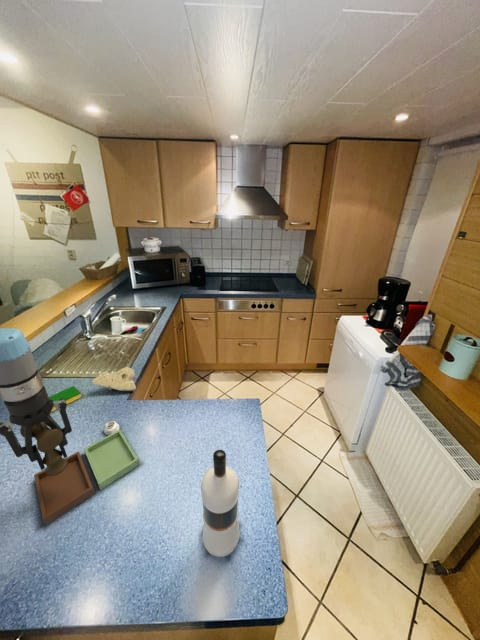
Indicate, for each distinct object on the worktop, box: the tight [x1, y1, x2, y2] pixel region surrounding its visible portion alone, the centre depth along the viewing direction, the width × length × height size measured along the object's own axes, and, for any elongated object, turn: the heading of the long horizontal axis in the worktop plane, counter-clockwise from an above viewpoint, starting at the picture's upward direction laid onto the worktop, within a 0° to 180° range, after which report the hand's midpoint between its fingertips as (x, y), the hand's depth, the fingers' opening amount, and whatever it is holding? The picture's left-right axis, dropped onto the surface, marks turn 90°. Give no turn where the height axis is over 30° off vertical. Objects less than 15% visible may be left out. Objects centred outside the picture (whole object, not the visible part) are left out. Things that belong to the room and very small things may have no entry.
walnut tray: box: [33, 451, 96, 526], centre depth 72 cm, size 16×12×3 cm
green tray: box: [83, 429, 141, 491], centre depth 81 cm, size 16×12×3 cm
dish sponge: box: [48, 385, 82, 413], centre depth 103 cm, size 7×14×2 cm, turn 141°
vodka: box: [200, 449, 241, 558], centre depth 57 cm, size 9×9×30 cm
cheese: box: [91, 366, 137, 392], centre depth 111 cm, size 15×7×15 cm
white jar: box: [103, 420, 120, 436], centre depth 91 cm, size 5×3×5 cm
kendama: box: [19, 422, 68, 476], centre depth 65 cm, size 6×10×20 cm, turn 59°
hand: (53, 459), depth 68 cm, fingers closed on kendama, 4 cm apart
